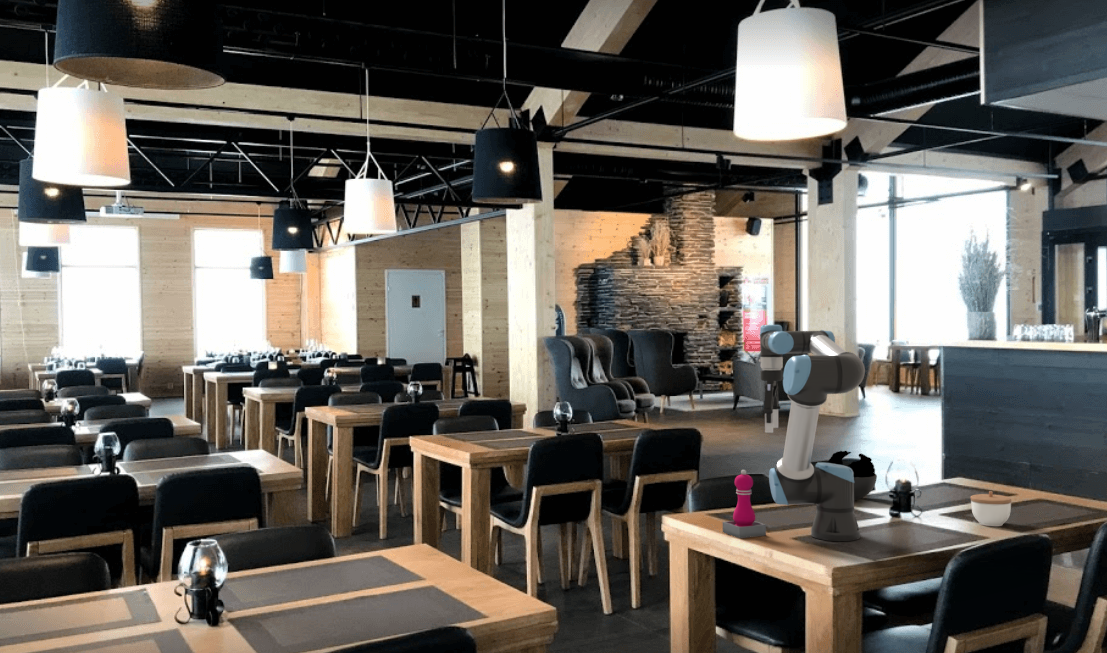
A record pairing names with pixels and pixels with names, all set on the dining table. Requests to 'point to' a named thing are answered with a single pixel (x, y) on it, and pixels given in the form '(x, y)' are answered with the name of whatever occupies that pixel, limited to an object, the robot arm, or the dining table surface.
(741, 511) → the pepper mill
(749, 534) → the tray
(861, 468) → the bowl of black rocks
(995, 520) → the lidded bowl
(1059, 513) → the dining table surface
